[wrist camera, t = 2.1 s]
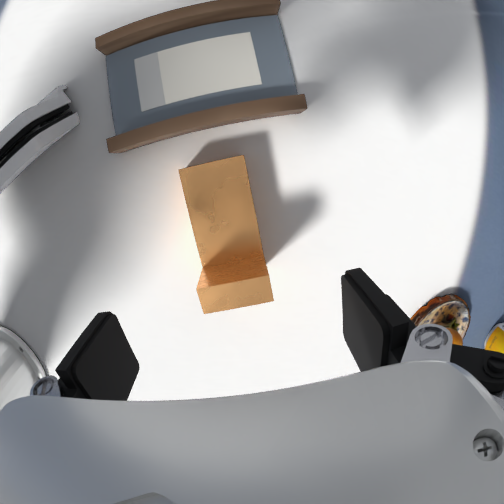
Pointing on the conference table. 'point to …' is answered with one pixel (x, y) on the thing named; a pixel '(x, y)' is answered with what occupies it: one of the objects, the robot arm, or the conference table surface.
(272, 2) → the bay walls
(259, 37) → the bay mat
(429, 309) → the burger
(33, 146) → the grey slotted curved block
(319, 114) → the conference table surface
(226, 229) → the bracket
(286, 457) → the robot arm
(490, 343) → the beer can
